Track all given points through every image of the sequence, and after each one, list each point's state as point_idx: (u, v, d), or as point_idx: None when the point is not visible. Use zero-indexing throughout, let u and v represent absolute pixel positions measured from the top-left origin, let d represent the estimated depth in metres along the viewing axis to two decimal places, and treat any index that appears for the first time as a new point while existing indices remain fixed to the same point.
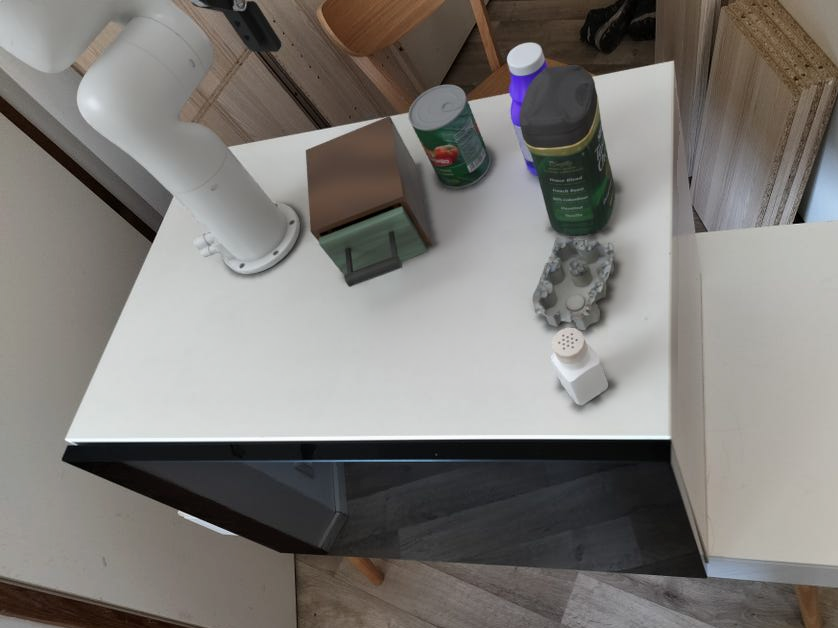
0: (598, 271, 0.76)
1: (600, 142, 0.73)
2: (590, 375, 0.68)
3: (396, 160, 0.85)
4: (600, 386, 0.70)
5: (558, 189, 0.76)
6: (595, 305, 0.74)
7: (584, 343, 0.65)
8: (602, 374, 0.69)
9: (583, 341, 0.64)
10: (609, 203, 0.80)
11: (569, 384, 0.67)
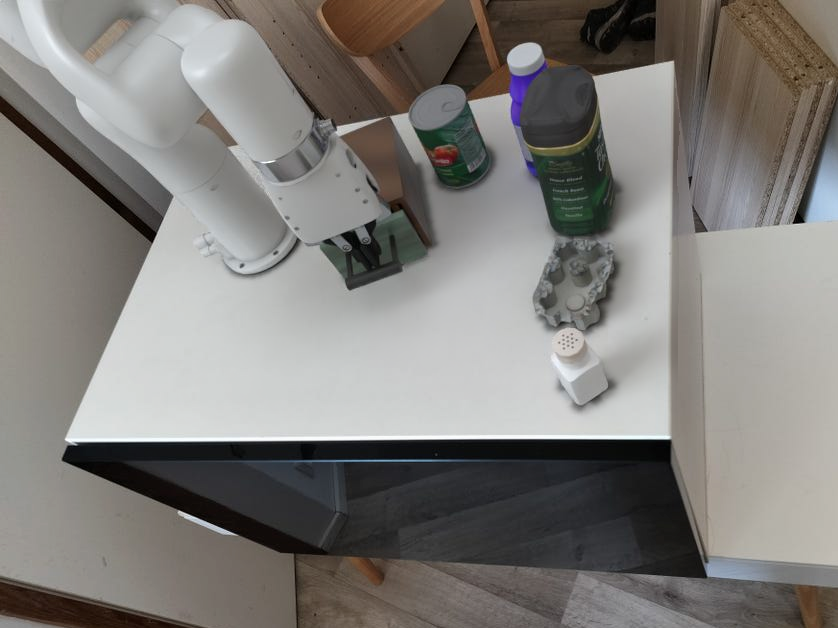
0: (598, 271, 0.76)
1: (600, 142, 0.73)
2: (590, 375, 0.68)
3: (396, 160, 0.85)
4: (600, 386, 0.70)
5: (558, 189, 0.76)
6: (595, 305, 0.74)
7: (584, 343, 0.65)
8: (602, 374, 0.69)
9: (583, 341, 0.64)
10: (609, 203, 0.80)
11: (569, 384, 0.67)
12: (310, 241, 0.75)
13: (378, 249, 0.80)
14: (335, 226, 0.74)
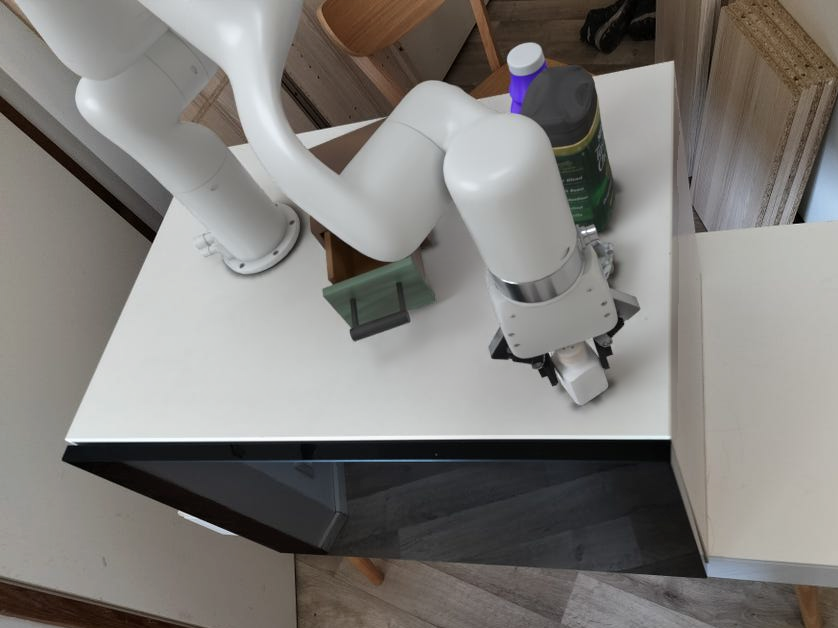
0: None
1: (600, 142, 0.73)
2: (590, 375, 0.68)
3: None
4: (600, 386, 0.70)
5: None
6: None
7: (584, 343, 0.65)
8: (602, 374, 0.69)
9: (583, 341, 0.64)
10: (609, 203, 0.80)
11: (569, 384, 0.67)
12: (526, 356, 0.62)
13: (611, 349, 0.67)
14: (562, 341, 0.61)
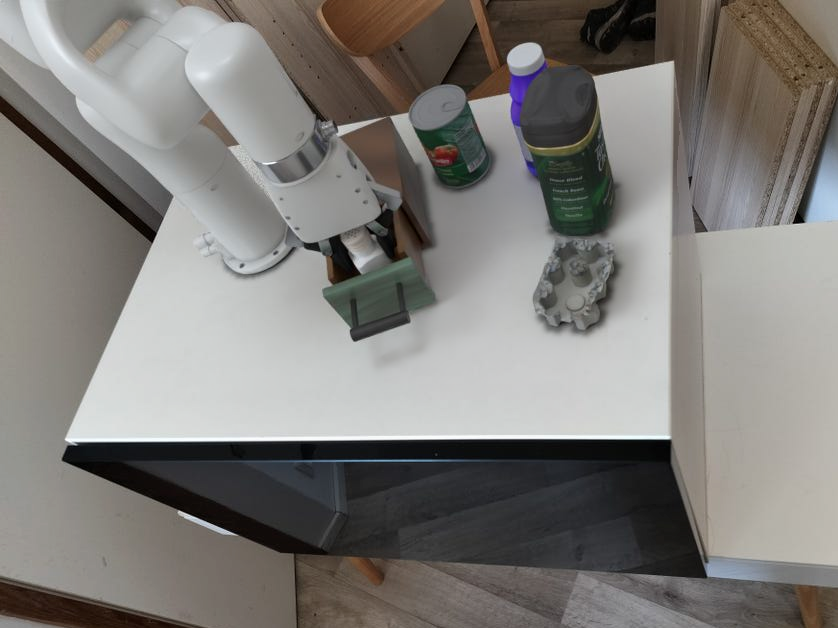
0: (598, 271, 0.76)
1: (600, 142, 0.73)
2: (378, 264, 0.81)
3: (396, 160, 0.85)
4: None
5: (558, 189, 0.76)
6: (595, 305, 0.74)
7: (365, 233, 0.78)
8: None
9: (363, 231, 0.78)
10: (609, 203, 0.80)
11: (360, 271, 0.81)
12: (310, 241, 0.76)
13: (394, 241, 0.81)
14: (335, 226, 0.74)
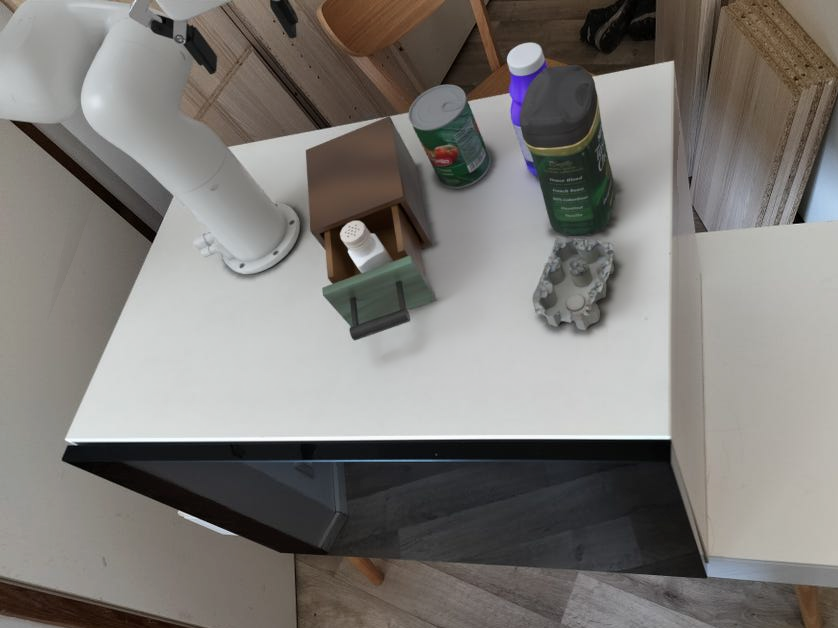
0: (598, 271, 0.76)
1: (600, 142, 0.73)
2: (378, 262, 0.81)
3: (396, 160, 0.85)
4: None
5: (558, 189, 0.76)
6: (595, 305, 0.74)
7: (364, 232, 0.79)
8: None
9: (363, 230, 0.78)
10: (609, 203, 0.80)
11: (360, 270, 0.81)
12: (178, 17, 0.67)
13: (293, 15, 0.70)
14: None
